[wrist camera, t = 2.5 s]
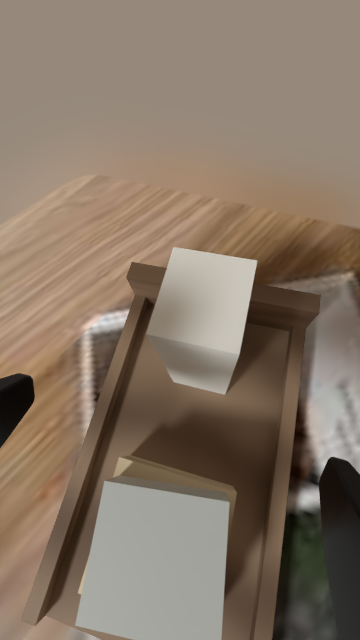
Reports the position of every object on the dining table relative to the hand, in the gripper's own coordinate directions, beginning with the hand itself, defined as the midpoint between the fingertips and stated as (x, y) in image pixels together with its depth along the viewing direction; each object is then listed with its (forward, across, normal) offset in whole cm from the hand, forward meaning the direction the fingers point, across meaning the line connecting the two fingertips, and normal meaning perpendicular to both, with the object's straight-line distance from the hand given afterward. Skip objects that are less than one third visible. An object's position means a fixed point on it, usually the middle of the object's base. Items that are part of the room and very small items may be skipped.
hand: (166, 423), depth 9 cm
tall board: (+11, 0, +4) cm, 12 cm away
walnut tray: (+8, 0, +9) cm, 12 cm away
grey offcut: (+2, 0, +9) cm, 10 cm away
